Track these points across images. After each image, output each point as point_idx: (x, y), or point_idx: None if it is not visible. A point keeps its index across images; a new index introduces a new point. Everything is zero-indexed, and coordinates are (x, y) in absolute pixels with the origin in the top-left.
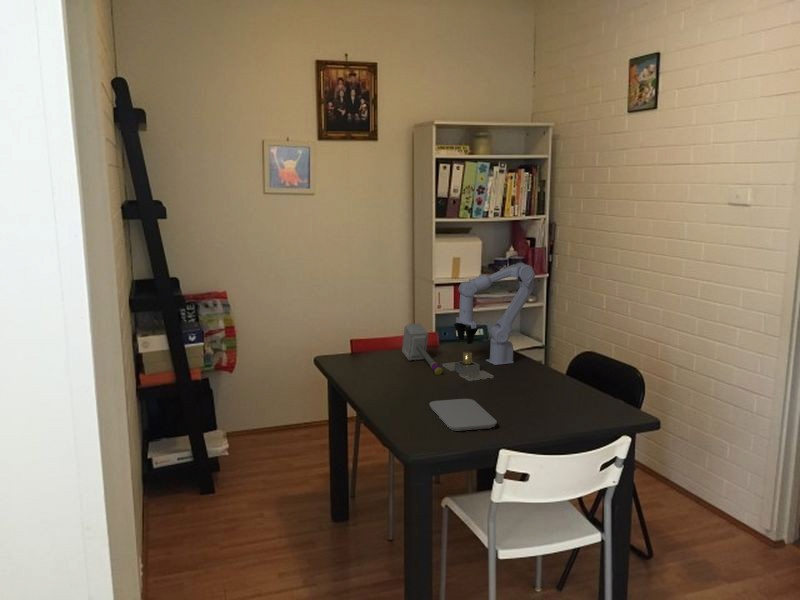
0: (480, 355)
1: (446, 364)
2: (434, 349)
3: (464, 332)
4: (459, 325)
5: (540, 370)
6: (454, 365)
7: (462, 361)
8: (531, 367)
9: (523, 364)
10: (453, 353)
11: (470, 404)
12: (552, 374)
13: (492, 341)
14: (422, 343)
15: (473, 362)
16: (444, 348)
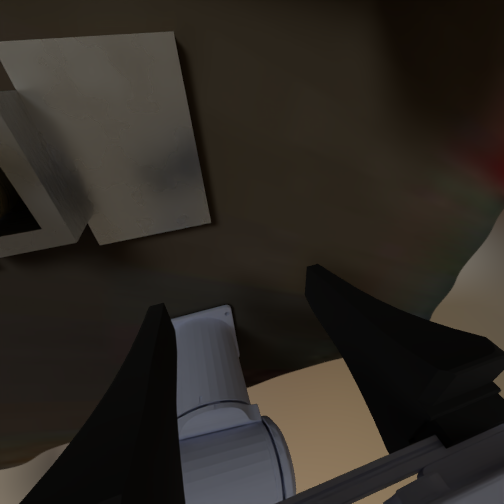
0: None
1: (140, 60)
2: (481, 145)
3: (338, 346)
4: (411, 391)
5: (73, 424)
6: (107, 119)
7: (30, 174)
8: None
9: None
10: (381, 210)
11: None
12: (17, 447)
13: (201, 417)
14: None
15: (6, 246)
16: (458, 196)
